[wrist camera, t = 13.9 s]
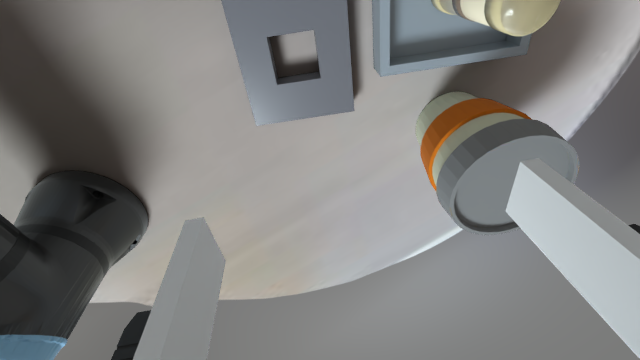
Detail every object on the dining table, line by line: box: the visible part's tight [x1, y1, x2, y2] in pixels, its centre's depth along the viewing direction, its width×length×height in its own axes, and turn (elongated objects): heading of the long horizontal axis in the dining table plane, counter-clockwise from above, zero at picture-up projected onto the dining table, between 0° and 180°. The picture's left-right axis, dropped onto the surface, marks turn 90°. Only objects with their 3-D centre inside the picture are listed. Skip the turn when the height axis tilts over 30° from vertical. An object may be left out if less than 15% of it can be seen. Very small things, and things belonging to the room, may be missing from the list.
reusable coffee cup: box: [416, 92, 579, 235], centre depth 35 cm, size 13×12×15 cm
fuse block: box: [221, 0, 354, 126], centre depth 33 cm, size 14×12×2 cm
